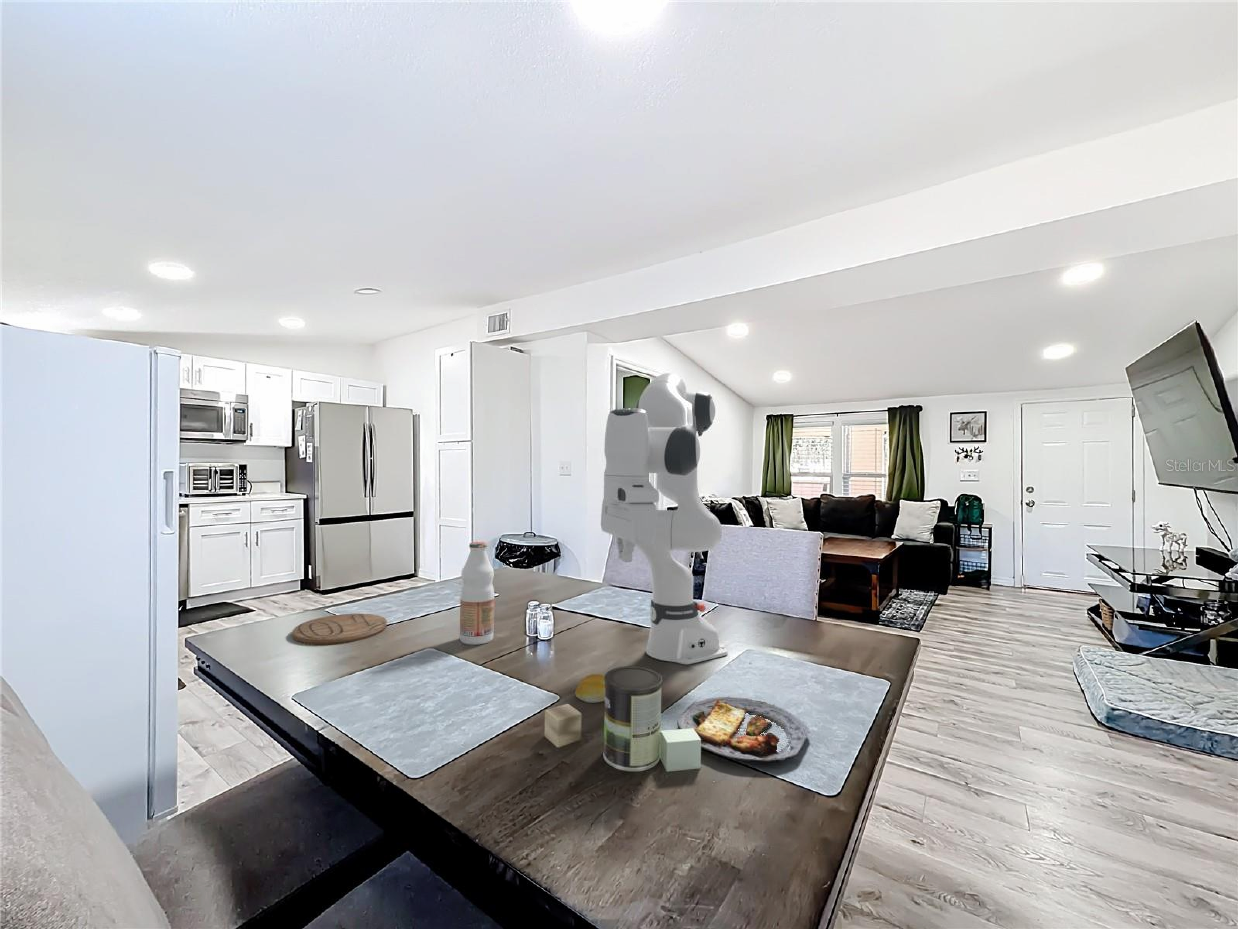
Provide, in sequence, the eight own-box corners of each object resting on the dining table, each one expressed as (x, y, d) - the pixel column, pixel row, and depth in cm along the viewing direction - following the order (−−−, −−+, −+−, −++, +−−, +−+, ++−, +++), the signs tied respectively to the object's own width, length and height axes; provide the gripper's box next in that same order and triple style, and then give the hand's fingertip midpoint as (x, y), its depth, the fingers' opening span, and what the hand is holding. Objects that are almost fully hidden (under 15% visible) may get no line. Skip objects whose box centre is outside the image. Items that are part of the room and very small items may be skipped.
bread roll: (572, 702, 117) (572, 684, 117) (582, 686, 126) (582, 668, 126) (609, 706, 115) (609, 687, 115) (617, 689, 124) (617, 671, 124)
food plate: (785, 786, 87) (785, 764, 87) (657, 746, 100) (658, 726, 100) (818, 727, 109) (818, 710, 109) (710, 700, 121) (710, 684, 121)
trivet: (371, 614, 179) (371, 609, 179) (398, 633, 160) (399, 627, 160) (284, 629, 162) (284, 623, 162) (303, 652, 144) (304, 645, 144)
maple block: (567, 729, 105) (567, 703, 105) (581, 740, 101) (581, 713, 101) (544, 736, 102) (544, 710, 102) (557, 748, 98) (558, 720, 98)
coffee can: (599, 770, 91) (601, 687, 91) (606, 739, 101) (607, 664, 101) (660, 774, 90) (662, 690, 90) (661, 742, 100) (662, 667, 100)
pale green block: (692, 756, 96) (693, 728, 96) (700, 768, 92) (701, 739, 92) (660, 759, 95) (660, 731, 95) (666, 772, 91) (667, 742, 91)
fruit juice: (458, 646, 150) (460, 545, 149) (460, 635, 159) (462, 540, 159) (493, 644, 152) (494, 545, 151) (493, 633, 161) (495, 540, 161)
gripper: (594, 487, 114) (593, 552, 114) (630, 494, 95) (629, 572, 95) (621, 487, 116) (620, 551, 116) (663, 493, 97) (661, 570, 97)
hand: (625, 560), depth 106 cm, fingers closed
